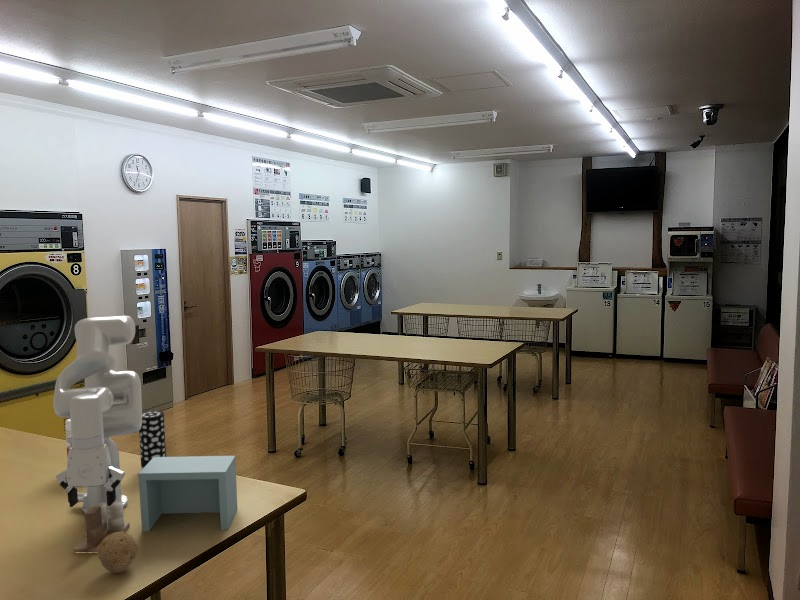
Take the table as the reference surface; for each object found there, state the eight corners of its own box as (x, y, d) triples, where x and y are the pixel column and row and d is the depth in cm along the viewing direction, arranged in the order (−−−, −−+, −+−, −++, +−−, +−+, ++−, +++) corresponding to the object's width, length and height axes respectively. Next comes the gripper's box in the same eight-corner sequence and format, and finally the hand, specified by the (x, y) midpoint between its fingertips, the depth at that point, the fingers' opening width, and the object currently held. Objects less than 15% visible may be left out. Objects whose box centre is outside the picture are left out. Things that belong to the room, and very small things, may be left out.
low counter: (141, 531, 176) (138, 473, 174) (156, 511, 188) (153, 457, 186) (227, 529, 177) (225, 471, 175) (237, 509, 189) (235, 455, 187)
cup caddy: (74, 554, 165) (70, 514, 163) (97, 528, 179) (95, 491, 177) (108, 553, 165) (105, 513, 163) (129, 527, 179) (127, 490, 177)
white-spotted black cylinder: (158, 475, 215) (154, 418, 212) (136, 473, 216) (132, 417, 214) (171, 465, 223) (168, 411, 220) (150, 464, 224) (147, 410, 222)
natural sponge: (117, 558, 162) (115, 522, 161) (146, 563, 159) (144, 526, 158) (91, 577, 153) (88, 539, 152) (121, 583, 151) (118, 544, 150)
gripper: (46, 447, 159) (51, 511, 161) (115, 445, 160) (119, 509, 162) (61, 437, 167) (66, 499, 169) (127, 436, 167) (131, 497, 169)
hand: (92, 504), depth 165 cm, fingers open, 9 cm apart
